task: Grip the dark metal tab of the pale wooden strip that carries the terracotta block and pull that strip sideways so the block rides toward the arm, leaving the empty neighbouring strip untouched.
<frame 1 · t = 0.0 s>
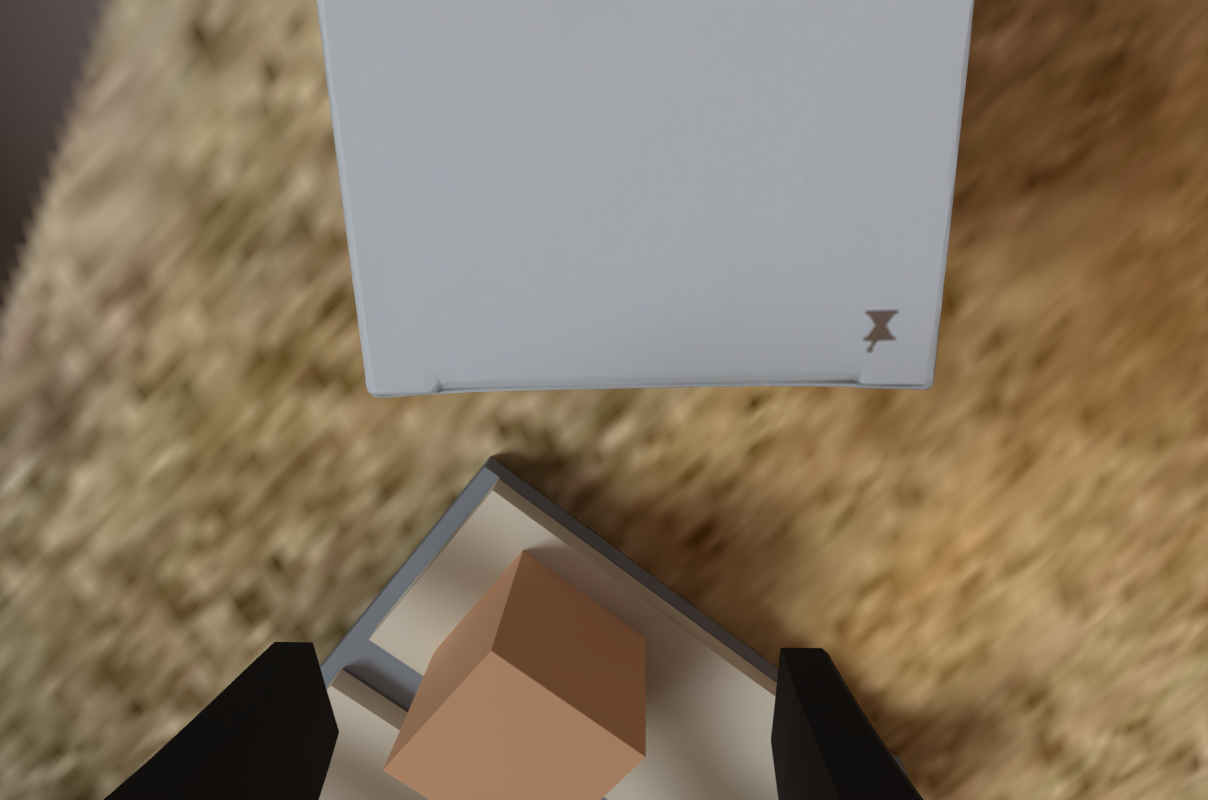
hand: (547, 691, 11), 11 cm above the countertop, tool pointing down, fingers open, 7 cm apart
block: (538, 644, 21), point 2 cm above the countertop, touching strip
lane board: (562, 758, 25), on the countertop
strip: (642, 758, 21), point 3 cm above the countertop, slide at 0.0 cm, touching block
small box: (644, 176, 19), on the countertop
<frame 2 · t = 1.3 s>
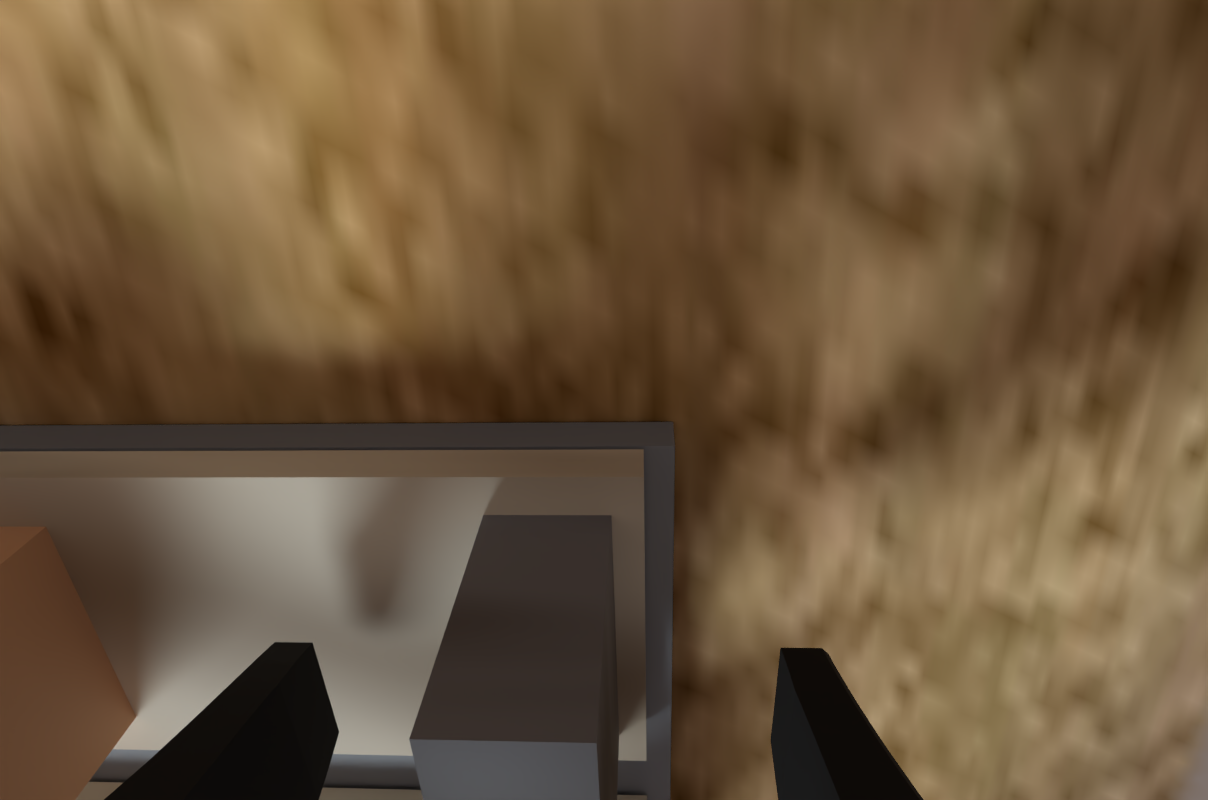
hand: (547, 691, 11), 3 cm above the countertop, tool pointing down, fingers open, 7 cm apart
lane board: (288, 717, 16), on the countertop
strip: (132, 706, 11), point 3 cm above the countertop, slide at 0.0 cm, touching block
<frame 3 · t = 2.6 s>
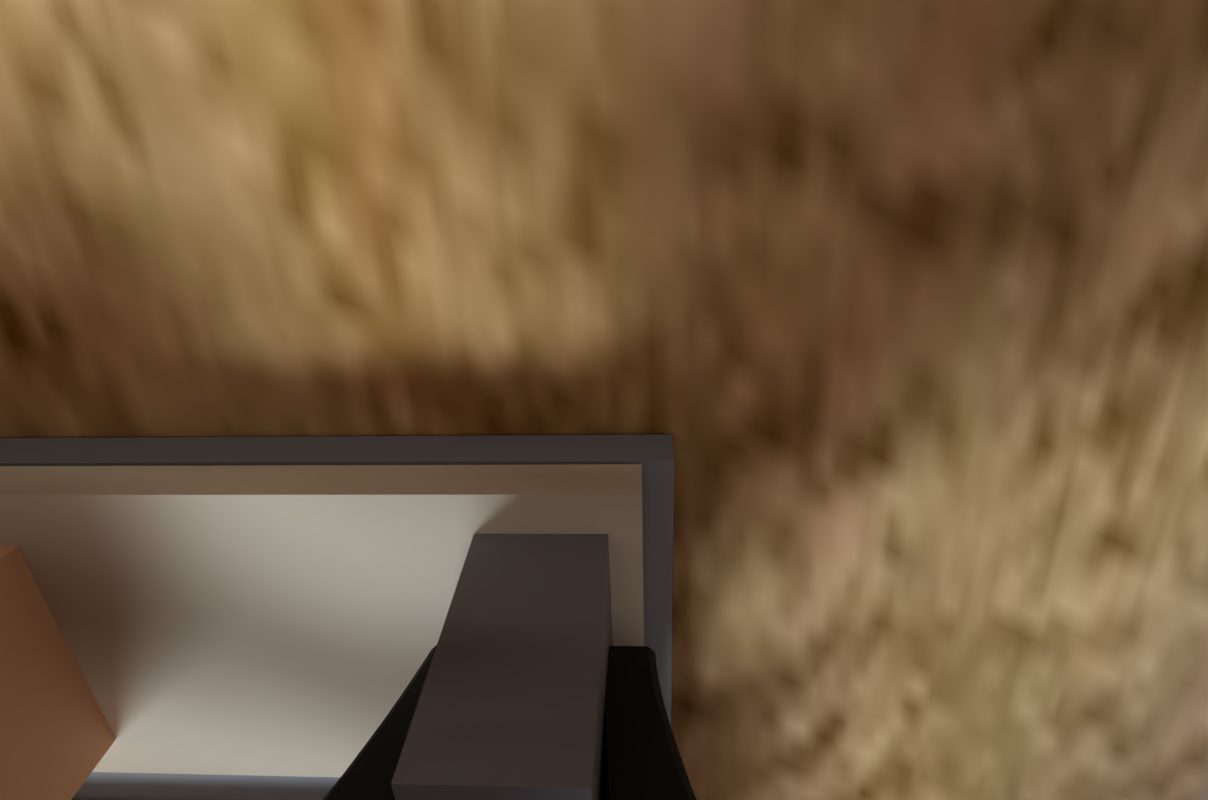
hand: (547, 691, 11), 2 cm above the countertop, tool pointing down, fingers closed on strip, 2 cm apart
lane board: (276, 735, 16), on the countertop
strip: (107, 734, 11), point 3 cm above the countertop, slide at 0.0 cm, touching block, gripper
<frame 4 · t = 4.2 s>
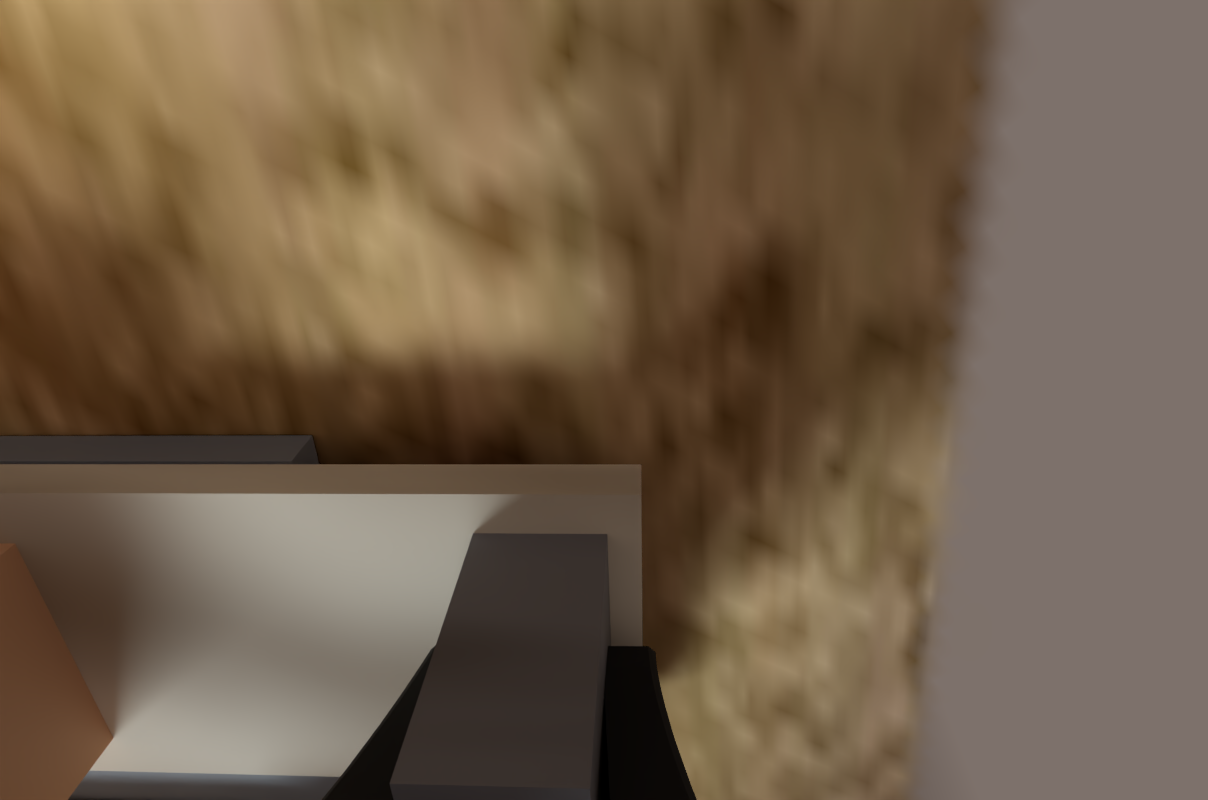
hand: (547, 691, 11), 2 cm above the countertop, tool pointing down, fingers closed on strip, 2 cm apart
lane board: (10, 729, 16), on the countertop
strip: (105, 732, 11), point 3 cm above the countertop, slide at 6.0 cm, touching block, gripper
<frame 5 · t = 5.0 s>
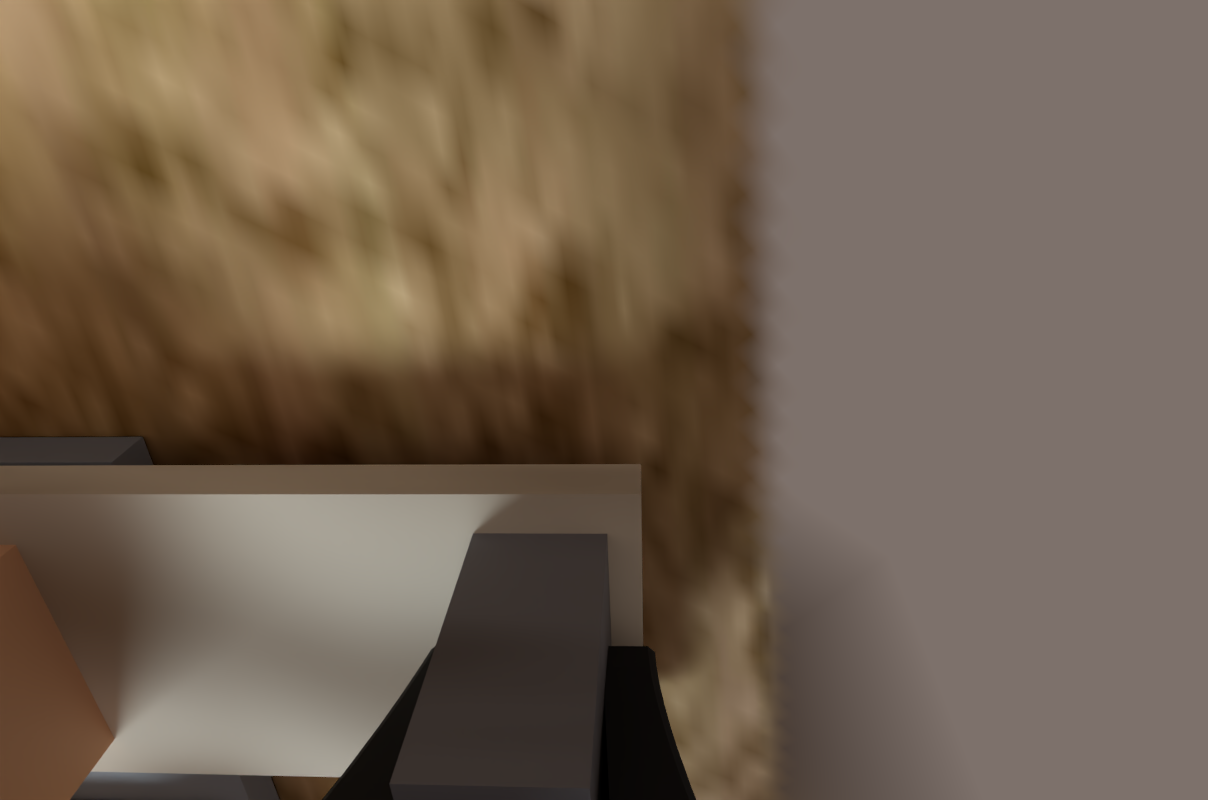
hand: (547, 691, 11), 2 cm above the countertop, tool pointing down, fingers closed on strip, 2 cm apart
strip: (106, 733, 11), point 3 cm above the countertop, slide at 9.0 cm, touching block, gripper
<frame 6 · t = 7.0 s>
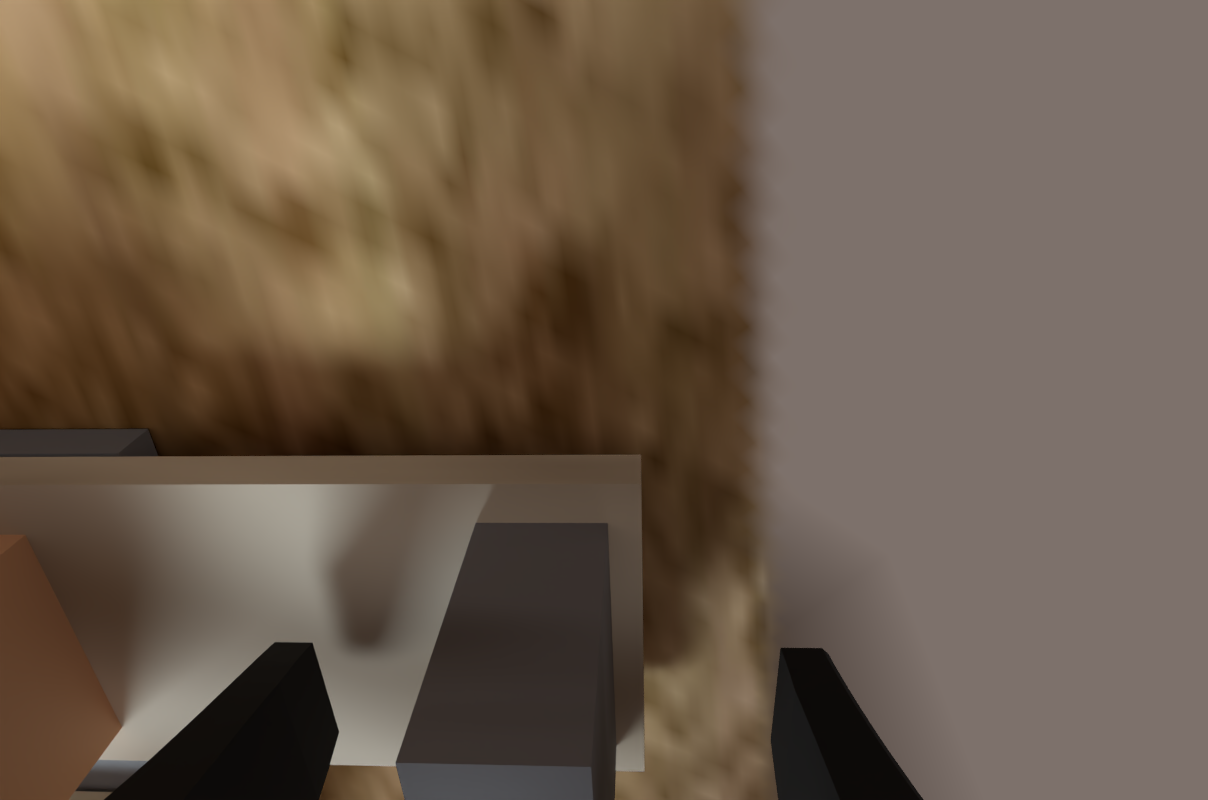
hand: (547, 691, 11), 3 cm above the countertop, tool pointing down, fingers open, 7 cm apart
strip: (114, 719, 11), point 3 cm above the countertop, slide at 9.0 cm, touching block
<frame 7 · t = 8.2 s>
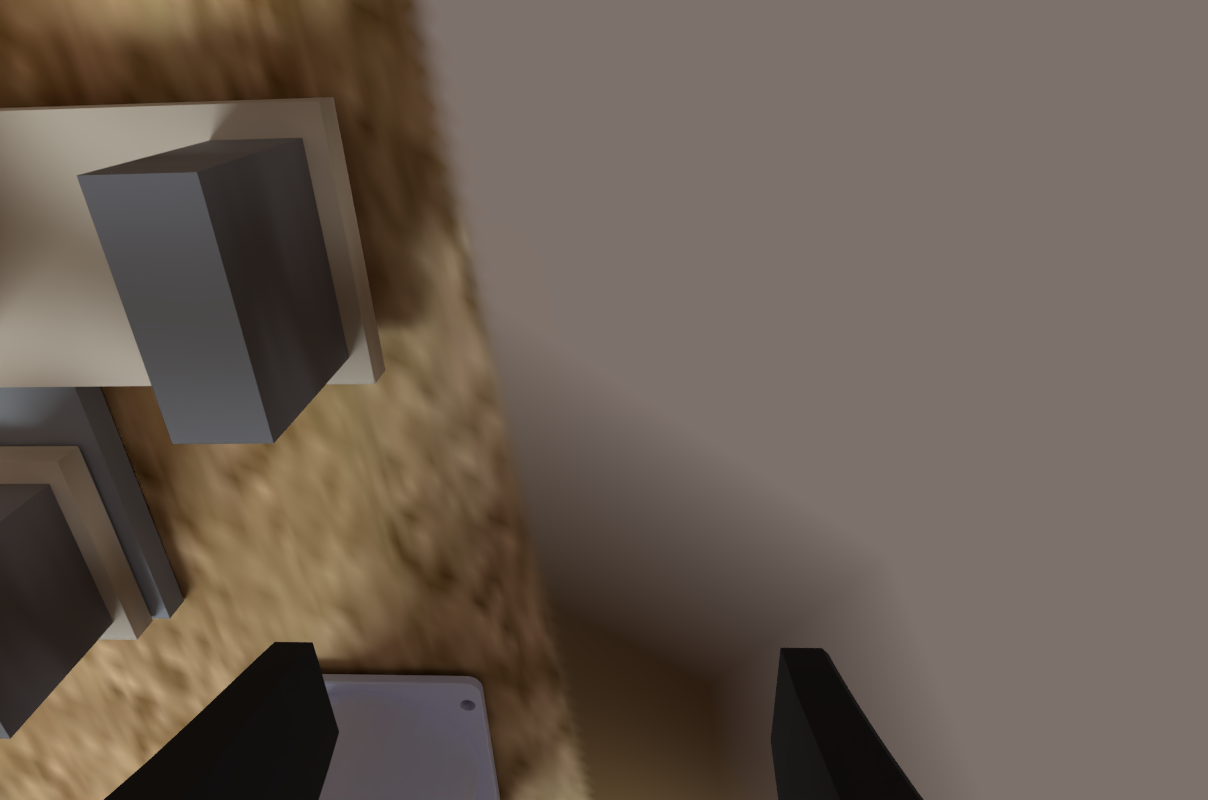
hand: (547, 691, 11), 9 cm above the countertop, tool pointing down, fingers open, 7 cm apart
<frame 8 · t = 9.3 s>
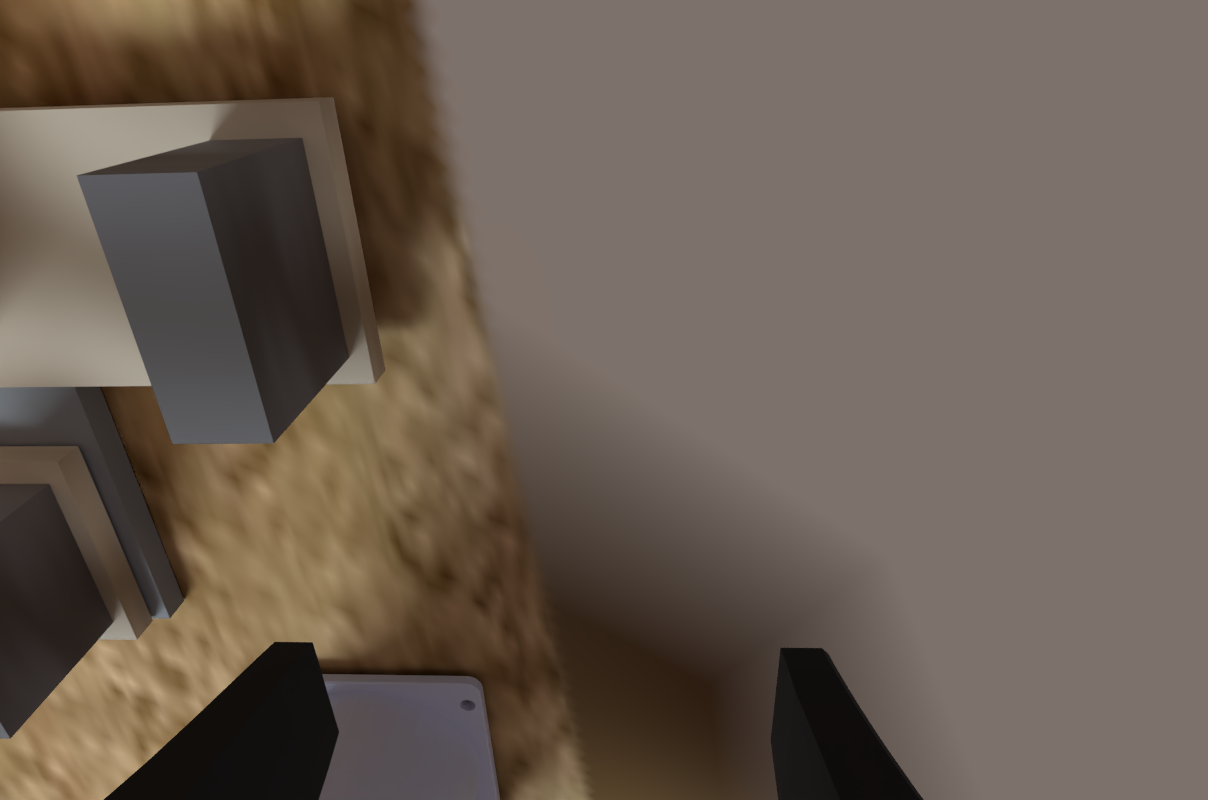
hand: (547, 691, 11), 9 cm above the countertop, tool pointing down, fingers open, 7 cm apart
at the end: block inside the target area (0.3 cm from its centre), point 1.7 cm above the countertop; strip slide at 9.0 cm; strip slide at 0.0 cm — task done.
